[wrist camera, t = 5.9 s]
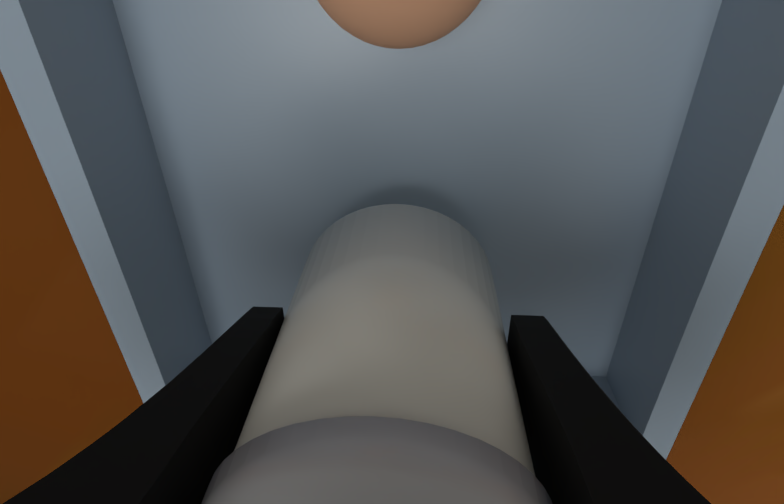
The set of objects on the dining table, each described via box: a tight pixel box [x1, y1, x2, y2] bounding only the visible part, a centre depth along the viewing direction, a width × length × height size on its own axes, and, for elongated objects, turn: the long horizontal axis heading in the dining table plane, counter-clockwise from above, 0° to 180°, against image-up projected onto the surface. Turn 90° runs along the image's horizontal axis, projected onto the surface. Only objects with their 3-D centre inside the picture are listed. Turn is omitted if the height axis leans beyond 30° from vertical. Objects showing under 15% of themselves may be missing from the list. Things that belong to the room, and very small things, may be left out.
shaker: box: [201, 204, 553, 504], centre depth 8 cm, size 5×5×6 cm
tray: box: [0, 0, 784, 460], centre depth 10 cm, size 16×14×3 cm
